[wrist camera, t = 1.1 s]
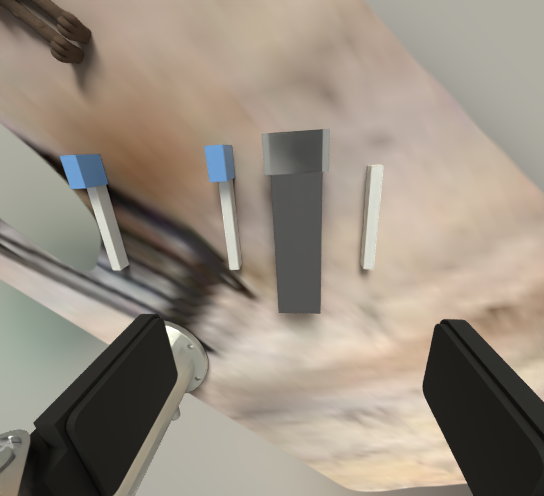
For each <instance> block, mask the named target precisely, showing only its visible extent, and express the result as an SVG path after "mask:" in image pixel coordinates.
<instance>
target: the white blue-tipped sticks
mask: <svg viewBox="0 0 544 496" xmlns="http://www.w3.org/2000/svg"><path fill="white" fill-rule="evenodd" d="M205 153H206V160H207V167H208V174H209V180H210V182H218V183H219V190H220V198H221V205H222V213H223V220H224V228H225V235H226V243H227V251H228V258H229V266H230V270H239V269H240V267H241V265H242V259H241V250H240V241H239V232H238V223H237V214H236V205H235V196H234V187H233V178H235V170H234V161H233V151H232V145H212V146H205ZM60 158H61V161H62V164H63V167H64V170H65V173H66V176H67V178H68V181H69V184H70V187H71V189H79V188H87V191H88V194H89V197H90V200H91V203H92V206H93V209H94V213H95V216H96V219H97V222H98V225H99V228H100V231H101V234H102V238H103V241H104V244H105V247H106V250H107V253H108V256H109V260H110V263H111V266H112V269H113V270H122V269H123V268H125V267H126V266H128V265H129V262H128V259H127V256H126V252H125V249H124V245H123V242H122V238H121V235H120V232H119V228H118V225H117V221H116V218H115V214H114V211H113V207H112V204H111V201H110V197H109V194H108V190H107V187H106V185H107V184H108V181H107V178H106V174H105V171H104V167H103V164H102V161H101V157H100V154H95V155H67V156H60ZM383 168H384V166H383V165H368V166H367V180H366V193H365V207H364V220H363V234H362V247H361V261H360V264H361V265H362V267H363V269H374V261H375V251H376V240H377V230H378V220H379V209H380V199H381V189H382V178H383Z"/></svg>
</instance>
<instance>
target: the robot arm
mask: <svg viewBox="0 0 544 496" xmlns="http://www.w3.org/2000/svg"><path fill="white" fill-rule="evenodd" d="M207 369H208V359H207V355H206V352H205V350H204V348H203V346H202V345H201V343H200V342H199V341H198V340H197V339H196V338H195V337H194V336H193V335H192V334H191V333H190V332H188V331H187V330H186V329H184V328H182V327H180V326H179V325H176V324H174V323H171V322H168V321H164V320H163V319H162V318H160V316H159V315H158V314H141V315H139V316H138V317H137V318H136V319H135V320H134V321H133V322H132V323H131V324H130V325H129V326H128V327H127V328H126V329H125V330H124V331H123V332H122V333H121V334H120V335H119V336H118V337H117V338H116V339H115V340H114V341H113V342H112V343H111V344H110V345H109V347H108V348H107V349H106V350H105V351H104V352H103V353H102V354H101V355H100V356H99V357H98V358H97V359H96V360H95V361H94V362H93V363H92V364H91V365H90V366H89V367H88V368H87V369H86V370H85V371H84V372H83V373H82V374H81V375H80V376H79V377H78V378H77V379H76V380H75V381H74V382H73V383H72V384H71V385H70V386H69V387H68V388H67V389H66V390H65V391H64V392H63V393H62V394H61V395H60V396H59V397H58V398H57V399H56V400H55V401H54V402H53V403H52V404H51V405H50V406H49V407H48V408H47V409H46V410H45V411H44V413H42V414H41V415H40V416H39V418H38V419H36V421H35V422H34V425H35V427H36V429H35V430H34V431H33V432H32V433H31V435H30V434H29V433H28V432H27V431H25V430H13V431H9V432H6V433H3V434H0V496H135V494H136V492H137V490H138V488H139V486H140V484H141V482H142V480H143V478H144V475H145V473H146V471H147V469H148V467H149V465H150V463H151V461H152V459H153V457H154V455H155V453H156V451H157V449H158V446H159V444H160V442H161V440H162V438H163V436H164V434H165V432H166V430H167V428H168V426H169V424H170V422H171V420H176V419H178V418H179V416H180V411H179V407H178V406H179V404H180V402H181V400H182V398H183V395H184V394H185V393H188V392H190V391H192V390H194V389H196V388H197V387H198V386H199V385H200V384H201V383H202V381H203V379H204V377H205V375H206V372H207ZM423 393H424V396H425V399H426V401H427V403H428V405H429V407H430V409H431V411H432V413H433V415H434V417H435V419H436V421H437V423H438V425H439V427H440V429H441V431H442V433H443V435H444V437H445V439H446V441H447V443H448V445H449V447H450V449H451V451H452V453H453V455H454V457H455V459H456V461H457V463H458V465H459V467H460V469H461V471H462V473H463V475H464V477H465V479H466V482H467V484H468V486H469V487H470V490H471V492H472V494H473V496H544V402H543V401H542V400H541V399H540V398H539V397H538V396H537V395H536V393H535V392H534V391H533V390H532V389H531V388H530V387H529V386H528V385H527V384H526V383H525V382H524V381H523V380H522V379H521V378H520V377H519V376H518V375H517V374H516V373H515V371H514V370H513V369H512V368H511V367H510V366H509V365H508V364H507V363H506V362H505V361H504V360H503V359H502V358H501V357H500V356H499V355H498V354H497V353H496V352H495V351H494V350H493V348H492V347H491V346H490V345H489V344H488V343H487V342H486V341H485V340H484V339H483V338H482V337H481V336H480V335H479V334H478V333H477V332H476V331H475V330H474V329H473V328H472V326H471V325H470V324H469V323H468V322H466V321H465V320H455V319H444V320H442V321H441V322H440V324H436V325H435V328H434V332H433V337H432V342H431V347H430V352H429V356H428V361H427V366H426V371H425V375H424V380H423Z"/></svg>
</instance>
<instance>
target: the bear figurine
mask: <svg viewBox="0 0 544 496" xmlns="http://www.w3.org/2000/svg"><path fill="white" fill-rule="evenodd" d="M31 1H32V2H34V3H35V4H36V5H38V6H39V7H40V8H41V9H43V10H44V11H45V12H47V13H48V14H49V15H50V16H52V17H53V18H54V19H55V20H57V21H58V22H59V24H57V29H58V31H59V32H60V33H61V34H62V35H63V36H64V37H65V38H67V39H69V40H73V41H80V42H83V43H88V41H89V39H90V36H91V31H90V30H89V29H88V28H87V27H85V26H84V25H83V24H82V23H81V22H80V21H79V20H78V19H77V18H76V17H75V16H74V15H73V14H71V13H69V12H66V11H64V10H62V9H61V8H59V7H58V6H57V5H56V4H54V3H53V2H52V1H51V0H31ZM0 4H1V5H2V6H3V7H5V8H6V9H7V10H9V11H10V12H11V13H13V14H14V15H15V16H16V17H17V18H19V19H20V20H22V21H23V22H25V23H26V24H27V25H29V26H30V27H31V28H33V29H34V30H35V31H37V32H38V33H39V34H41V35H42V36H43V37H44V38H45V39H46V40H47V41H48V42H49V43H51V46H52V48H53V49H51V54H52V55H53V56H54V57H55V58H56V59H57V60H59V61H61V62H64V63H81V62H82V59H83V56H84V52H83V50H82V49H80V48H79V47H77V46H76V45H74V44H72V43H71V42H69V41H68V40H66V39H65V38H64V37H62V36H61V35H60V34H59V33H57V32H56V31H55V30H53V29H52V28H51V27H49V26H48V25H47V24H45V23H44V22H43V21H41V20H40V19H39V18H37V17H36V16H35V15H33V14H32V13H31V12H30V11H28V10H27V9H26V8H24V7H23V6H22V5H20V4H19V3H18V2H16V1H15V0H0Z"/></svg>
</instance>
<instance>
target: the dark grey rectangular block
mask: <svg viewBox="0 0 544 496" xmlns="http://www.w3.org/2000/svg"><path fill="white" fill-rule="evenodd" d="M329 142H330V129H321V130H307V131H294V132H280V133H266V134H262V145H263V160H264V175H271V188H272V205H273V222H274V239H275V256H276V274H277V291H278V308H279V313H316V314H320V303H321V227H322V172H329Z"/></svg>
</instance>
